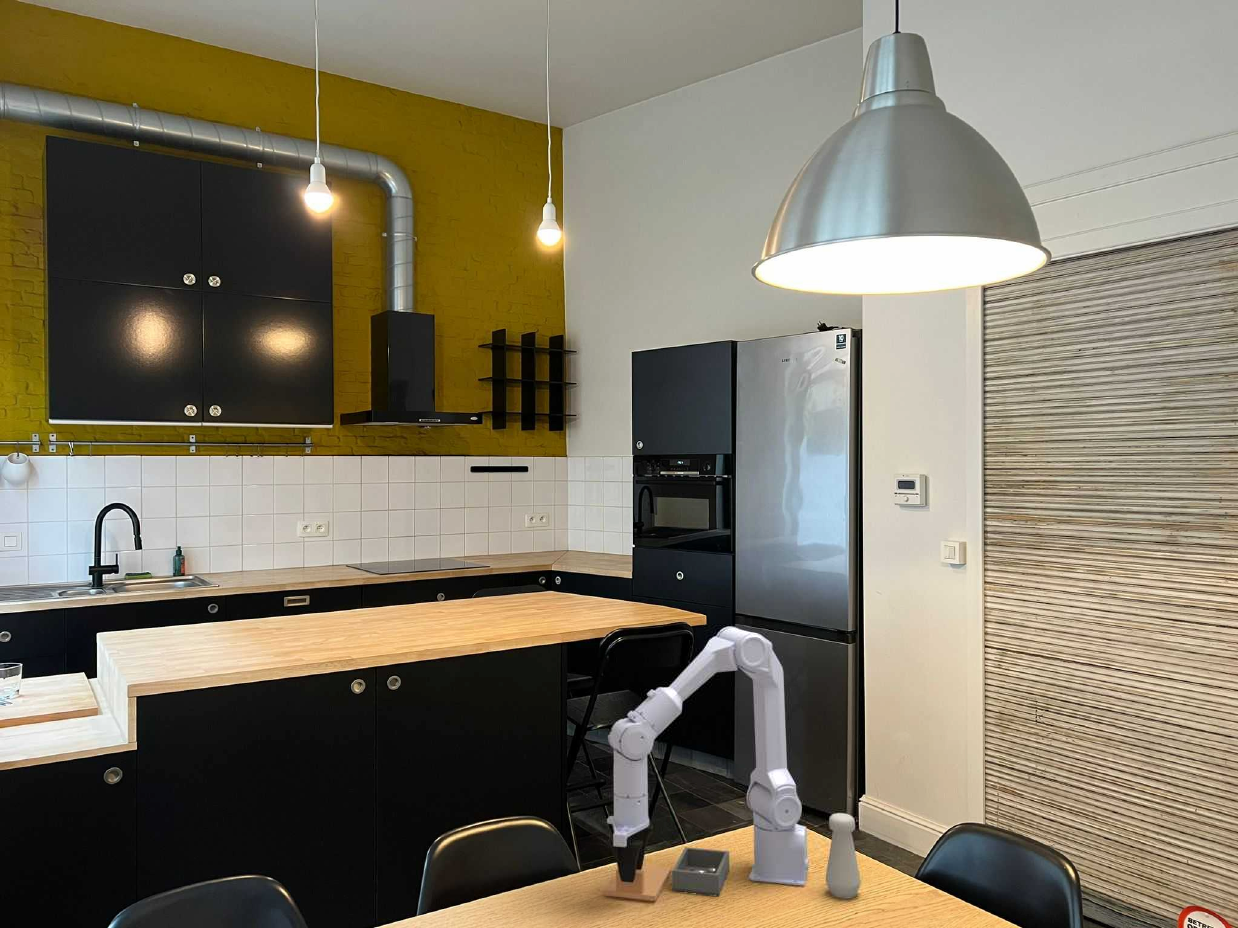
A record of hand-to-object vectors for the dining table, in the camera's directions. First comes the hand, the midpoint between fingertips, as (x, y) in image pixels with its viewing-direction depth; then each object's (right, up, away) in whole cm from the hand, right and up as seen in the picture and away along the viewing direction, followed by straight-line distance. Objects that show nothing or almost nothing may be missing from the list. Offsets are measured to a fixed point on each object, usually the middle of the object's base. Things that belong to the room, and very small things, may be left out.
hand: (631, 875), depth 155 cm
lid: (+1, -3, +4) cm, 6 cm away
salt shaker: (+36, -4, +1) cm, 36 cm away
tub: (+12, -4, +6) cm, 14 cm away
